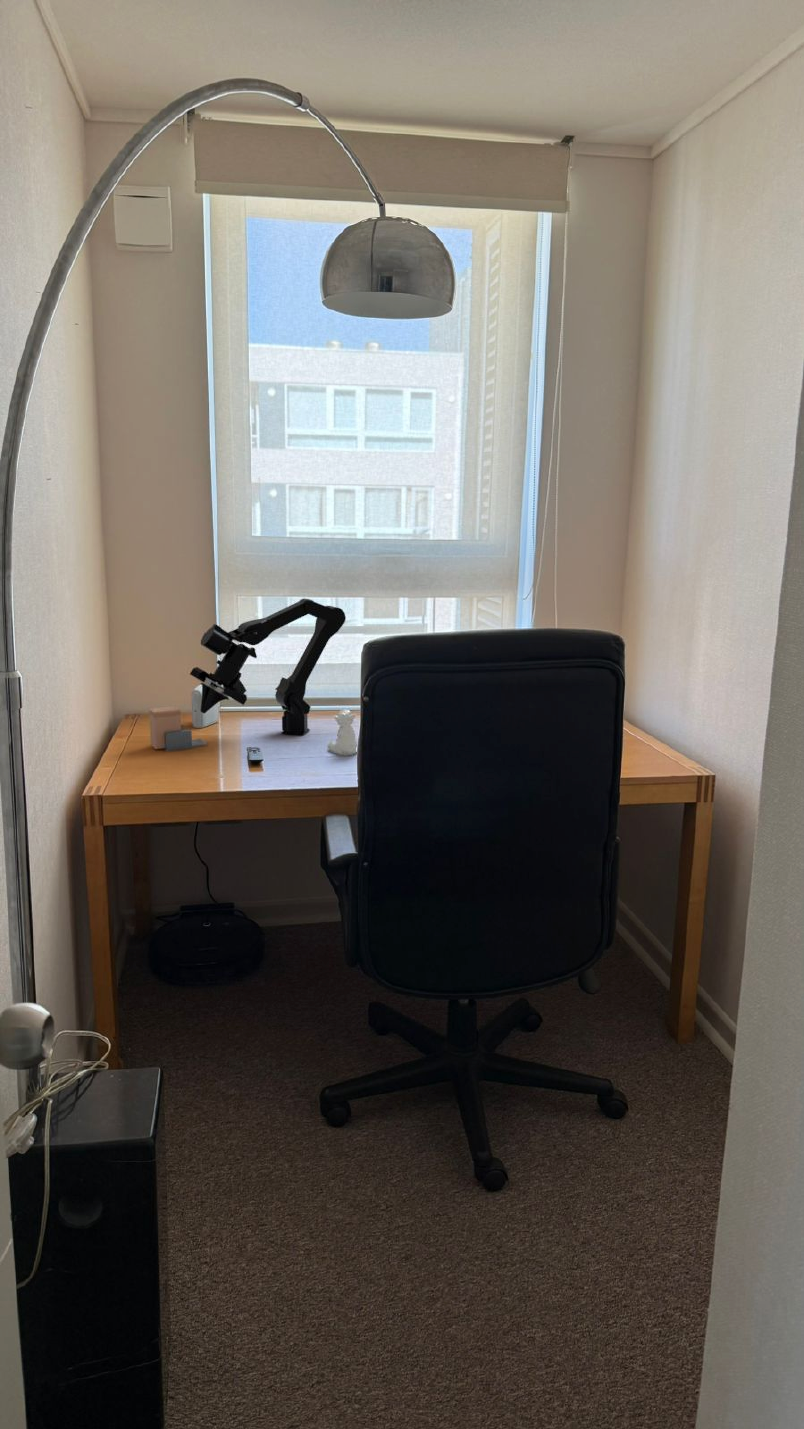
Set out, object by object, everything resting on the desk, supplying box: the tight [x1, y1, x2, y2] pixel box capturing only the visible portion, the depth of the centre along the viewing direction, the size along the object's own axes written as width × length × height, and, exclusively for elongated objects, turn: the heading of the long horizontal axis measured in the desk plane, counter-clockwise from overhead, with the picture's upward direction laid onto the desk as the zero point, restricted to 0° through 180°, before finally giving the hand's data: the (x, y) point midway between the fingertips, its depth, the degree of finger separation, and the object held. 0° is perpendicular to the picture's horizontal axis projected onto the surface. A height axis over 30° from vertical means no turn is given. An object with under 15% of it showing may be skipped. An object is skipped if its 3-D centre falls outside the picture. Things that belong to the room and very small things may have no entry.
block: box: [148, 706, 182, 750], centre depth 258 cm, size 7×5×10 cm
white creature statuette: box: [327, 709, 358, 757], centre depth 254 cm, size 10×9×12 cm
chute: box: [162, 723, 208, 752], centre depth 260 cm, size 12×8×5 cm
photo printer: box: [190, 684, 220, 729], centre depth 284 cm, size 10×4×12 cm, turn 160°
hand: (202, 712), depth 262 cm, fingers closed
